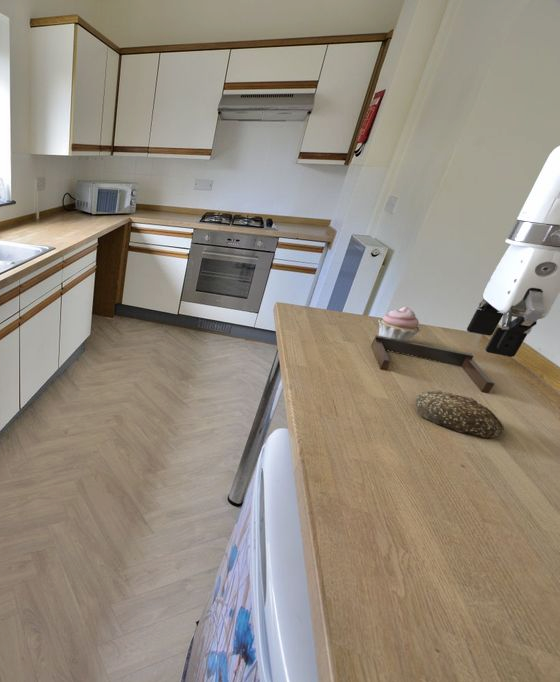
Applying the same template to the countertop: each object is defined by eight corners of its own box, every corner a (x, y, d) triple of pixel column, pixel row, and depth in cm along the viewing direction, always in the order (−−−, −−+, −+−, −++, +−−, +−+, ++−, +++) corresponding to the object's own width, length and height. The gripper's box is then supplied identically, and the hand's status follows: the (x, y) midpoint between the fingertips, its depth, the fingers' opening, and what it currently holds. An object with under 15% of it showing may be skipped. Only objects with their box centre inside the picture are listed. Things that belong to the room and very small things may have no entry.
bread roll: (408, 415, 79) (418, 393, 77) (419, 394, 87) (429, 373, 85) (500, 449, 71) (515, 425, 69) (503, 422, 79) (517, 400, 77)
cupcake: (363, 334, 117) (376, 301, 113) (390, 333, 118) (404, 300, 114) (393, 348, 108) (409, 313, 104) (422, 347, 110) (438, 312, 106)
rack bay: (465, 365, 101) (471, 353, 100) (488, 393, 89) (496, 380, 87) (371, 345, 110) (375, 335, 108) (380, 369, 97) (385, 357, 96)
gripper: (620, 250, 51) (543, 370, 58) (555, 232, 64) (500, 331, 71) (535, 241, 54) (473, 356, 61) (491, 226, 68) (444, 321, 75)
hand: (488, 343), depth 66 cm, fingers open, 9 cm apart
